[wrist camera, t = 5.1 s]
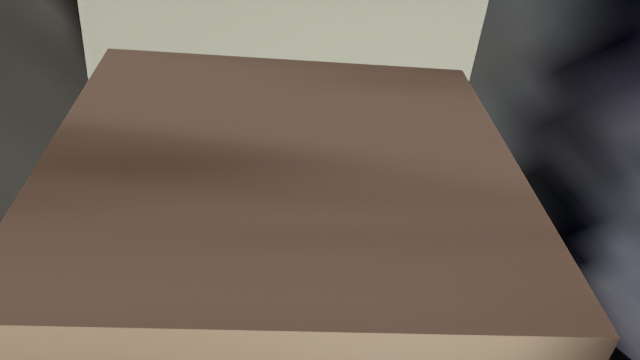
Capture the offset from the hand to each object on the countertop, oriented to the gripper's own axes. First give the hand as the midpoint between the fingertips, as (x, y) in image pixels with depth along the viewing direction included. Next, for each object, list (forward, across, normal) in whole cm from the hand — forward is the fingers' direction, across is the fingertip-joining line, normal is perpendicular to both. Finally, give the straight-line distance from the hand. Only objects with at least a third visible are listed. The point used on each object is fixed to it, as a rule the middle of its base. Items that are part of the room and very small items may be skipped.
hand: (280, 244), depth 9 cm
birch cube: (+1, 0, 0) cm, 1 cm away
